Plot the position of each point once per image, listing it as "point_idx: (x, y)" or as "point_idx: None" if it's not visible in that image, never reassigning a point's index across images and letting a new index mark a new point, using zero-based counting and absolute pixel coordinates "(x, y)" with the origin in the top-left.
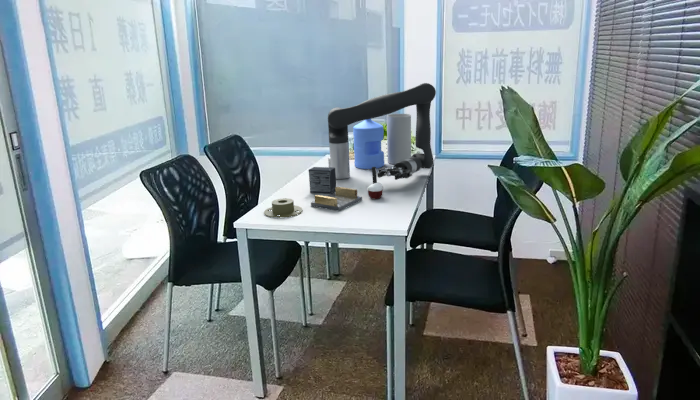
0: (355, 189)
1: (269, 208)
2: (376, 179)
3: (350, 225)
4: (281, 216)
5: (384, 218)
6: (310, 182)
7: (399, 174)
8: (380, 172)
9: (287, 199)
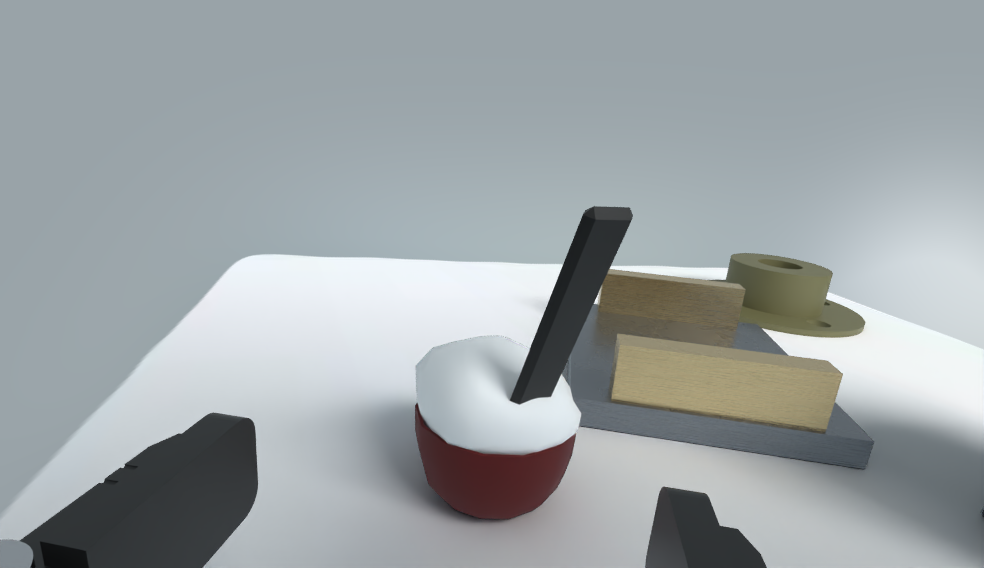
0: (630, 343)
1: (846, 310)
2: (527, 356)
3: (440, 265)
4: (709, 280)
5: (326, 290)
6: None
7: (106, 509)
8: (677, 533)
9: (794, 272)
